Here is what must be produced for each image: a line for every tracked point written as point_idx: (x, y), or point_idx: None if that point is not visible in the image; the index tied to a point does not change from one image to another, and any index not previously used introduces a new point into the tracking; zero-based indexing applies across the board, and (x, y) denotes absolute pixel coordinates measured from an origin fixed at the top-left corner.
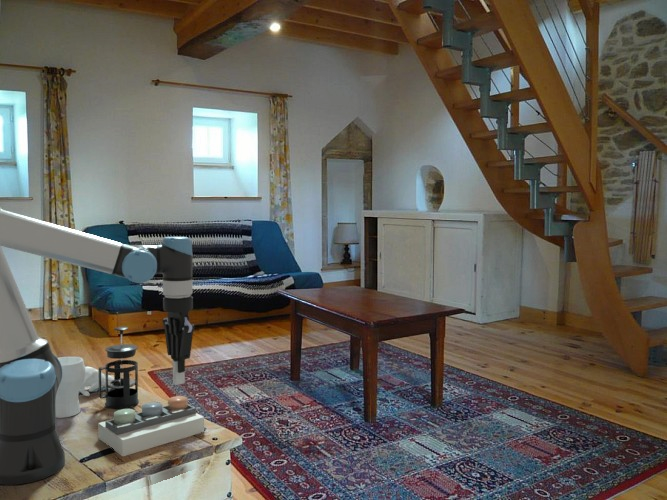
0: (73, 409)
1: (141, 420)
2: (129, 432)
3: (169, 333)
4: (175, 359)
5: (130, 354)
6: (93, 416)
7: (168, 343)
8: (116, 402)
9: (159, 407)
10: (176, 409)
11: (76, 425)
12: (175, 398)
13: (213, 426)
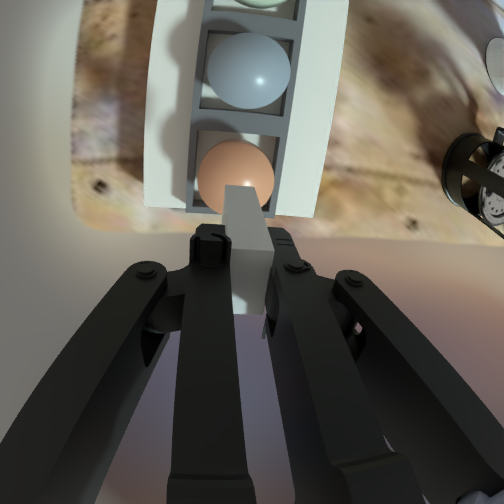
0: (496, 62)
1: (221, 16)
2: None
3: (435, 429)
4: (199, 244)
5: None
6: (460, 77)
7: (389, 340)
8: (468, 143)
9: (208, 78)
10: (208, 150)
11: (442, 19)
12: (250, 179)
13: (169, 227)
